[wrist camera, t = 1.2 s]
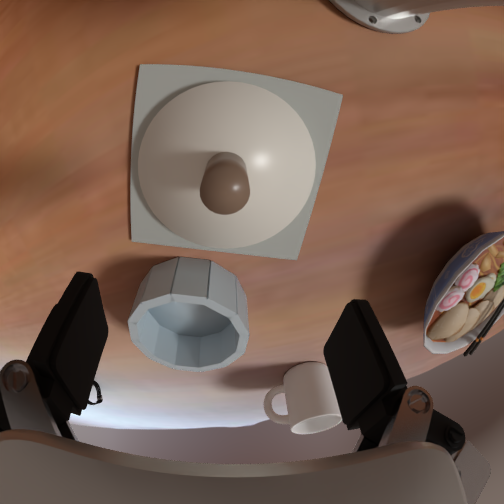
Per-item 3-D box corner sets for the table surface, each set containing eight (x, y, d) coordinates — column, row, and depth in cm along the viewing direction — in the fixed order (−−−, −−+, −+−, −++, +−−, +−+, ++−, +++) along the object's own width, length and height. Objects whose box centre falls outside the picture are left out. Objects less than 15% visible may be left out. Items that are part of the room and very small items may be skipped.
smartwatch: (93, 375, 44) (86, 396, 39) (107, 389, 46) (102, 409, 42) (78, 375, 44) (72, 395, 40) (93, 388, 47) (88, 408, 43)
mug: (263, 390, 48) (268, 440, 39) (258, 368, 43) (264, 425, 34) (326, 380, 47) (339, 427, 39) (330, 356, 43) (346, 409, 34)
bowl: (137, 251, 29) (122, 286, 24) (253, 264, 31) (258, 302, 26) (144, 329, 36) (136, 363, 31) (236, 339, 38) (238, 374, 33)
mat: (141, 64, 19) (139, 64, 19) (341, 94, 22) (343, 95, 21) (132, 239, 28) (131, 241, 28) (296, 258, 31) (296, 260, 31)
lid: (149, 75, 19) (124, 73, 14) (330, 101, 22) (357, 108, 17) (140, 234, 28) (123, 268, 23) (290, 251, 30) (301, 288, 25)
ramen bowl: (443, 182, 27) (488, 214, 20) (520, 212, 30) (551, 238, 23) (376, 331, 40) (394, 372, 34) (462, 322, 43) (480, 351, 36)
